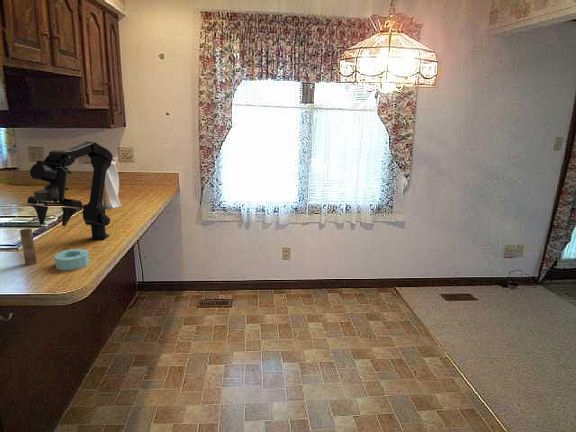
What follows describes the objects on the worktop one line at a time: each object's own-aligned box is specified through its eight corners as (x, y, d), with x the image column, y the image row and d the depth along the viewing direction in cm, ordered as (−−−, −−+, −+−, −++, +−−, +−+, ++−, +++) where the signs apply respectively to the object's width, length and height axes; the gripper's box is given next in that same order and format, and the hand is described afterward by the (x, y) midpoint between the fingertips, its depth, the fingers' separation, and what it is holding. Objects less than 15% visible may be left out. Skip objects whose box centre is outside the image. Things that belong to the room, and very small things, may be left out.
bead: (66, 258, 151) (65, 248, 149) (95, 258, 151) (93, 249, 150) (49, 269, 140) (48, 259, 139) (80, 270, 140) (79, 260, 139)
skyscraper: (115, 204, 230) (110, 156, 223) (124, 206, 227) (120, 158, 219) (102, 207, 223) (97, 158, 216) (112, 209, 219) (107, 159, 212)
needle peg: (29, 261, 147) (24, 228, 143) (39, 261, 147) (33, 228, 143) (23, 265, 143) (17, 231, 140) (33, 265, 143) (27, 231, 140)
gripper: (17, 179, 140) (12, 222, 139) (64, 181, 137) (59, 226, 136) (41, 183, 151) (36, 223, 150) (85, 186, 148) (80, 227, 147)
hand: (52, 225), depth 146 cm, fingers open, 9 cm apart
